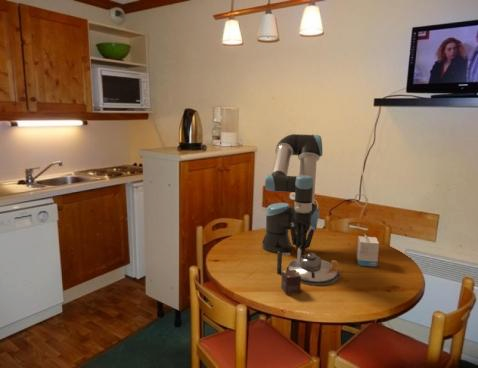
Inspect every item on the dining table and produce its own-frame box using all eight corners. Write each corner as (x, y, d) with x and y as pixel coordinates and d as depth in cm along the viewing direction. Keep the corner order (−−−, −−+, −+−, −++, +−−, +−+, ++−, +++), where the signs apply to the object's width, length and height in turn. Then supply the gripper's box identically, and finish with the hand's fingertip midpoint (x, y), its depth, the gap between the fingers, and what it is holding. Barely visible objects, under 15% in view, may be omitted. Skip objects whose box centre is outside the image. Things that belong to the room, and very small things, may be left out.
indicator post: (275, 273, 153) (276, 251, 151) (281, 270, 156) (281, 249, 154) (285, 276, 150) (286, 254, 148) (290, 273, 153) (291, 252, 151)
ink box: (377, 267, 160) (380, 239, 157) (358, 265, 162) (360, 238, 159) (374, 259, 168) (376, 233, 166) (356, 258, 170) (358, 232, 167)
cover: (296, 267, 153) (296, 254, 152) (307, 260, 160) (307, 248, 159) (314, 273, 148) (315, 260, 146) (324, 266, 154) (325, 254, 153)
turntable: (279, 272, 152) (279, 259, 151) (303, 257, 168) (304, 246, 167) (322, 288, 139) (323, 274, 138) (345, 270, 155) (346, 258, 153)
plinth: (276, 273, 152) (276, 272, 152) (303, 257, 169) (303, 257, 169) (323, 291, 138) (323, 290, 138) (348, 272, 155) (348, 271, 155)
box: (300, 293, 136) (301, 276, 135) (285, 295, 135) (286, 277, 133) (294, 286, 142) (295, 269, 140) (280, 287, 141) (281, 270, 139)
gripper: (285, 209, 153) (283, 259, 158) (311, 215, 145) (308, 268, 150) (294, 206, 159) (292, 254, 164) (320, 212, 151) (317, 262, 155)
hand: (300, 261), depth 157 cm, fingers closed
